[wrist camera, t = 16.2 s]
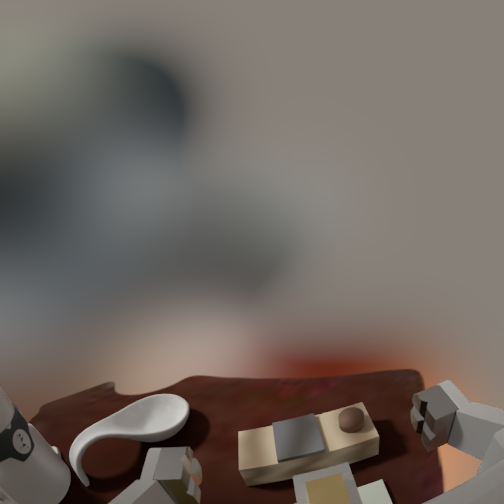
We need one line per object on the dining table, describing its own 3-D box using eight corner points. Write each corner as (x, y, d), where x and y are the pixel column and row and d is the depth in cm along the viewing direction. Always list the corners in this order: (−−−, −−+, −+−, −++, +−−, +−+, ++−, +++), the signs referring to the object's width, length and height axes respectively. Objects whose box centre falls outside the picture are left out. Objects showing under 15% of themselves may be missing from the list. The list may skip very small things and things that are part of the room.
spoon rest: (168, 399, 54) (154, 370, 52) (209, 421, 46) (195, 389, 45) (70, 464, 37) (48, 435, 36) (98, 503, 29) (71, 474, 28)
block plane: (247, 486, 32) (235, 462, 30) (245, 449, 39) (235, 424, 37) (378, 454, 31) (379, 427, 30) (362, 420, 38) (361, 393, 37)
